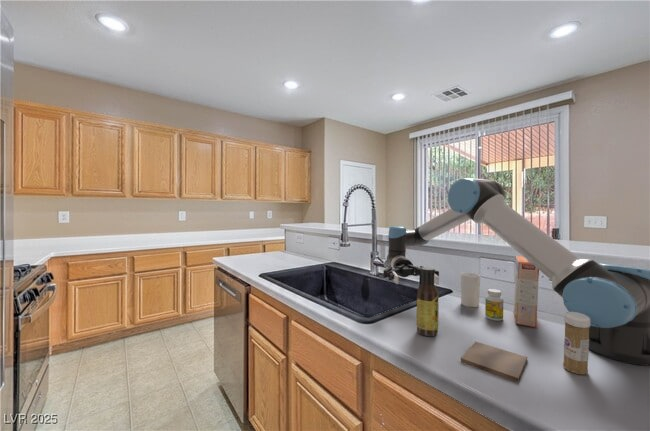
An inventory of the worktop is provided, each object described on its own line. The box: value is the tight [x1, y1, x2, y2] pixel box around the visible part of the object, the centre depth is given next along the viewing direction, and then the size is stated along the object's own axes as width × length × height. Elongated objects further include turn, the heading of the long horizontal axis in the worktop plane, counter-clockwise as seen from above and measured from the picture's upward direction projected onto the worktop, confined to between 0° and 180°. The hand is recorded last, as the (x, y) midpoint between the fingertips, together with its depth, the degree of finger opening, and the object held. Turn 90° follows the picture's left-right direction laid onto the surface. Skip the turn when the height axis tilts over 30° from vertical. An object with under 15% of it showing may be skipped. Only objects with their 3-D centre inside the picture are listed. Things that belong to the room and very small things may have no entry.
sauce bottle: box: [416, 266, 440, 337], centre depth 87 cm, size 6×6×20 cm
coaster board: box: [460, 341, 528, 383], centre depth 71 cm, size 12×12×1 cm
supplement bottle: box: [484, 288, 504, 322], centre depth 98 cm, size 5×5×10 cm
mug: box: [460, 271, 481, 308], centre depth 112 cm, size 10×7×12 cm, turn 129°
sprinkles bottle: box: [562, 311, 590, 375], centre depth 67 cm, size 5×5×13 cm
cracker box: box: [513, 255, 540, 328], centre depth 97 cm, size 14×6×21 cm, turn 148°
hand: (417, 280), depth 97 cm, fingers open, 13 cm apart
